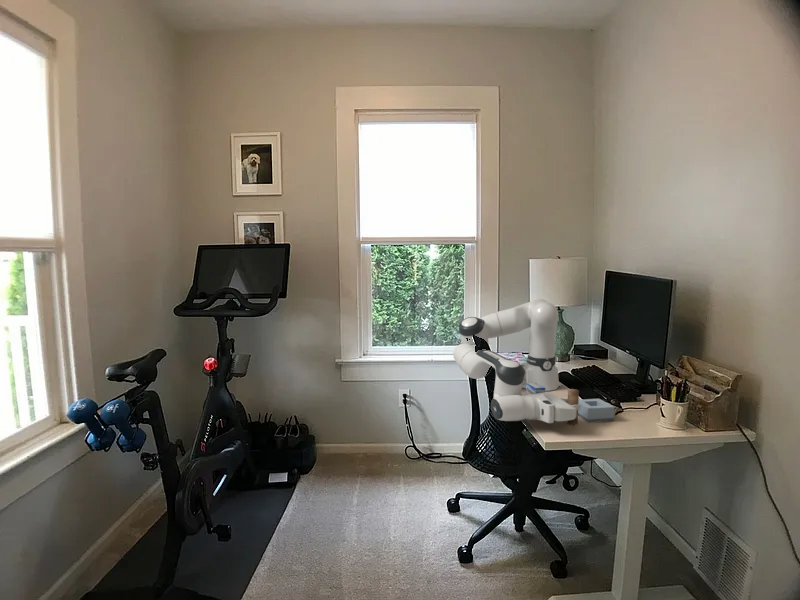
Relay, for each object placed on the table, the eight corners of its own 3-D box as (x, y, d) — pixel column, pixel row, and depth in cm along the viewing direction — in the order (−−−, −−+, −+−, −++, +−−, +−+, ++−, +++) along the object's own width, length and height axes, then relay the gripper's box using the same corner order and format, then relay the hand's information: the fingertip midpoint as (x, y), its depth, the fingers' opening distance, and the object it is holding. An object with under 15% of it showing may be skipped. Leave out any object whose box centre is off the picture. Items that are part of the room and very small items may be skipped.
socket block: (574, 412, 181) (574, 400, 181) (598, 411, 183) (599, 398, 182) (588, 422, 172) (588, 408, 171) (614, 420, 173) (614, 406, 173)
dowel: (565, 421, 172) (566, 389, 171) (574, 421, 173) (575, 388, 171) (570, 425, 169) (571, 392, 167) (579, 424, 169) (580, 391, 168)
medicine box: (525, 403, 193) (525, 382, 192) (535, 402, 194) (535, 381, 193) (534, 410, 185) (535, 388, 184) (545, 409, 186) (545, 387, 185)
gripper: (526, 405, 179) (561, 403, 181) (551, 425, 159) (590, 422, 161) (526, 389, 178) (561, 387, 180) (551, 406, 158) (590, 404, 160)
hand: (575, 403), depth 170 cm, fingers open, 5 cm apart
